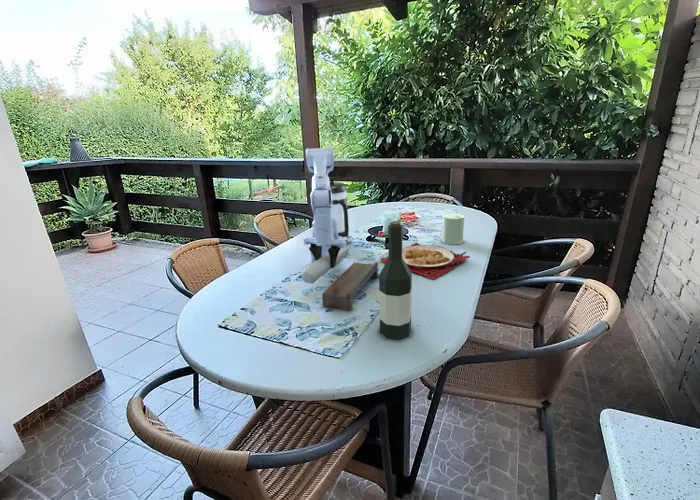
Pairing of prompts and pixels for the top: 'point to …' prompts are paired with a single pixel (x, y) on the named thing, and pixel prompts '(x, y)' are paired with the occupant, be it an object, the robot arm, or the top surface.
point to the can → (453, 228)
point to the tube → (321, 266)
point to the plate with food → (429, 259)
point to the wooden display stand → (348, 286)
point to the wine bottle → (395, 289)
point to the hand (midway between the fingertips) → (326, 266)
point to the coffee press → (340, 209)
